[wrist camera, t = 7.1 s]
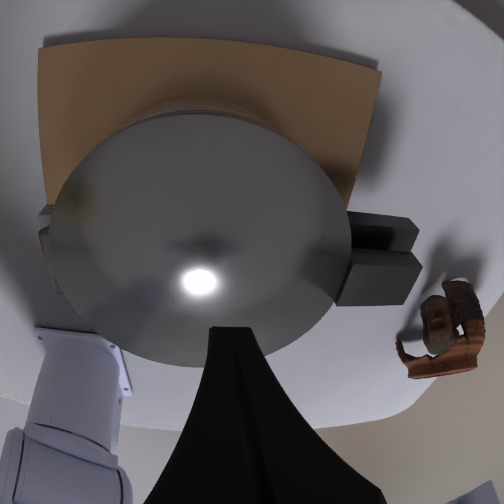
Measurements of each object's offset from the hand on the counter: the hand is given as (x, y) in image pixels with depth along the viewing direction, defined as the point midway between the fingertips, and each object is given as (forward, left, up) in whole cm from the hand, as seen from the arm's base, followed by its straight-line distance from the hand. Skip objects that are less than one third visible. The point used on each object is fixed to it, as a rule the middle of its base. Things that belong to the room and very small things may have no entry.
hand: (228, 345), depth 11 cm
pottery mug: (-9, -21, -10) cm, 25 cm away
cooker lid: (+1, -1, -4) cm, 4 cm away
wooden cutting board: (+1, +1, -10) cm, 10 cm away
